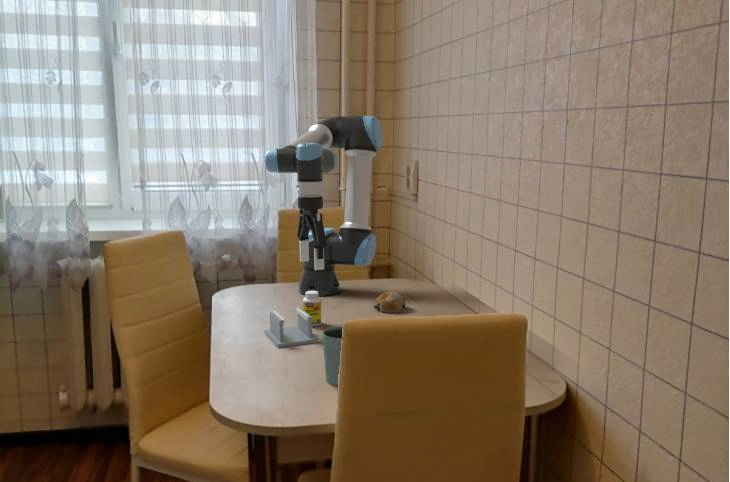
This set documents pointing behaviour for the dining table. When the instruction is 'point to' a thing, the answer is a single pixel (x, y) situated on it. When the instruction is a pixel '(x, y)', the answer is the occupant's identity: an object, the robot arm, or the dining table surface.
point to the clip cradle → (291, 330)
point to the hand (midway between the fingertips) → (311, 265)
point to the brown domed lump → (390, 302)
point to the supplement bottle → (313, 306)
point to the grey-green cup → (332, 353)
